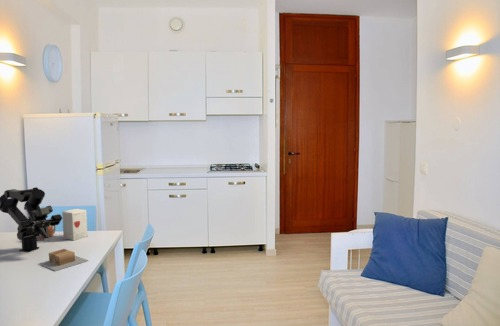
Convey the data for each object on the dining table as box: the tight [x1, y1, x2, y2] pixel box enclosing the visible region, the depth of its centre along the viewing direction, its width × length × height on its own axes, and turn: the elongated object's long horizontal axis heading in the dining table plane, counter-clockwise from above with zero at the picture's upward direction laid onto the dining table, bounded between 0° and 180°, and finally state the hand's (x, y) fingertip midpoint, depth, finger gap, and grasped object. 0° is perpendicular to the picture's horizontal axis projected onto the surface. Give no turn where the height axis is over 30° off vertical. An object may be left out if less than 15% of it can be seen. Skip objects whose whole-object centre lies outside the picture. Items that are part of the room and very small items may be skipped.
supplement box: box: [61, 208, 88, 241], centre depth 216 cm, size 9×9×15 cm
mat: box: [40, 255, 89, 272], centre depth 176 cm, size 12×15×1 cm
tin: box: [36, 225, 56, 241], centre depth 216 cm, size 15×3×8 cm, turn 168°
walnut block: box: [48, 248, 76, 266], centre depth 177 cm, size 4×7×9 cm
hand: (47, 237), depth 184 cm, fingers closed
